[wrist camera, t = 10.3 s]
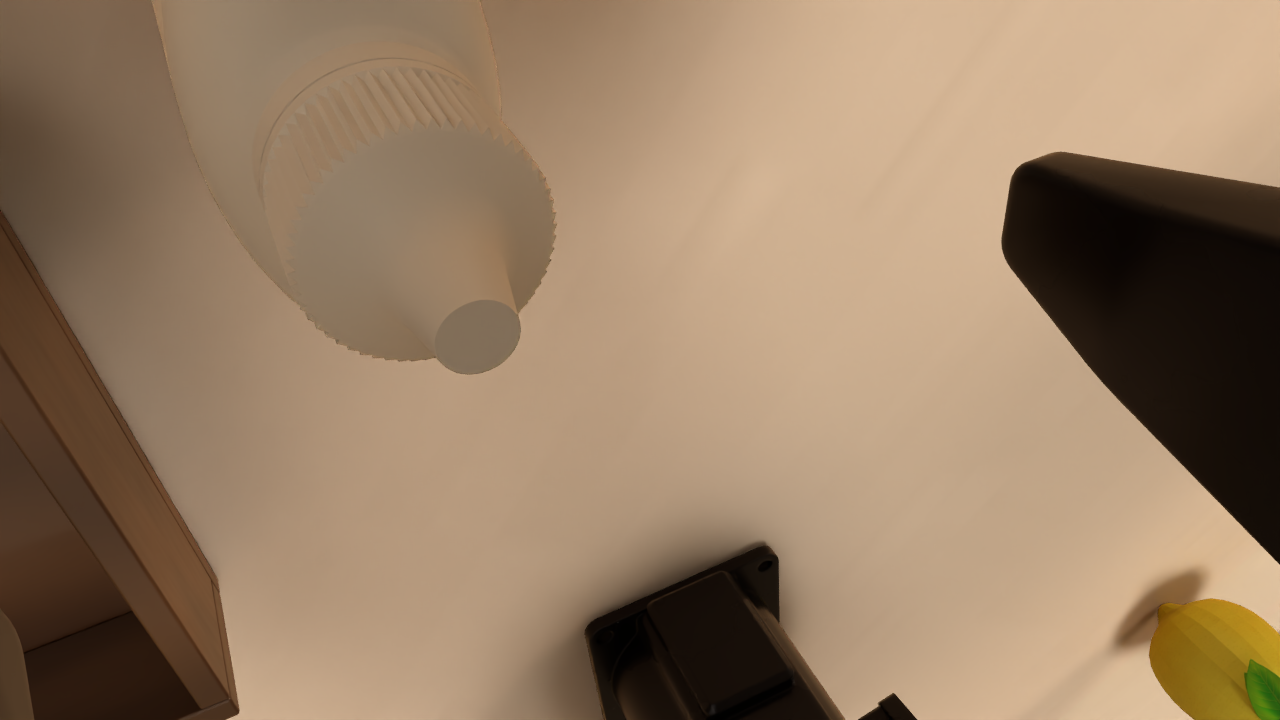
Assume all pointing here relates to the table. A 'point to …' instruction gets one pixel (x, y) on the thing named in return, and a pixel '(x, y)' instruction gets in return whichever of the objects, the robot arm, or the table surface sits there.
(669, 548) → the table surface
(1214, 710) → the lemon
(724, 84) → the table surface
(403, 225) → the eye dropper bottle
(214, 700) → the box
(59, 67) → the table surface
